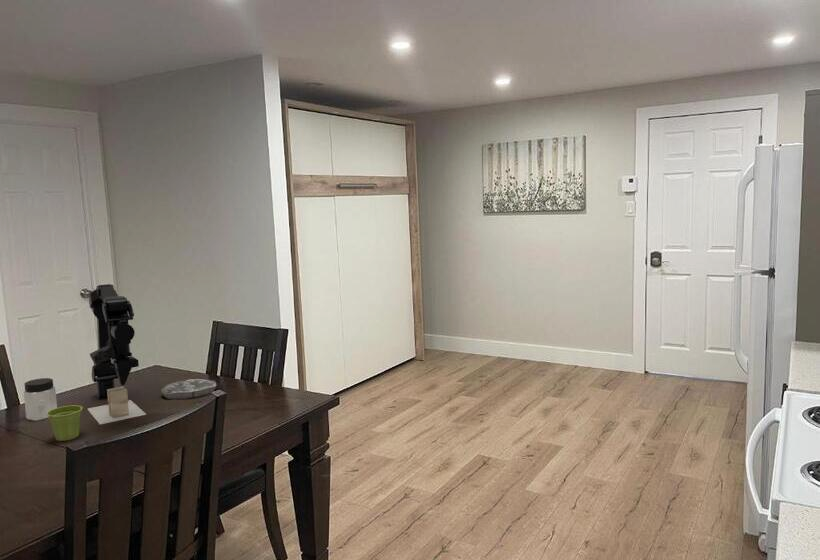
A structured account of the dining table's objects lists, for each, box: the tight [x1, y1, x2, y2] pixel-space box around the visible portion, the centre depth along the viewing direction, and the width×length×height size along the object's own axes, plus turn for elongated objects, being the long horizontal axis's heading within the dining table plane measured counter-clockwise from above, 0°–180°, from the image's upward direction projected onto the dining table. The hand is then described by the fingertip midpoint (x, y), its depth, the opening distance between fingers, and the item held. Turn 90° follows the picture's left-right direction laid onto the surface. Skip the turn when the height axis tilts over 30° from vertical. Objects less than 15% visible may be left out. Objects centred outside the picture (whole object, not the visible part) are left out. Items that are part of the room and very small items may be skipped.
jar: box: [23, 377, 58, 422], centre depth 202 cm, size 9×8×12 cm
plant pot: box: [46, 405, 83, 442], centre depth 183 cm, size 9×9×9 cm
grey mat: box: [87, 399, 147, 425], centre depth 205 cm, size 20×14×1 cm
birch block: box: [107, 386, 129, 418], centre depth 202 cm, size 5×5×8 cm
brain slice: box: [159, 378, 217, 400], centre depth 226 cm, size 20×17×3 cm
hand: (122, 385), depth 195 cm, fingers closed
